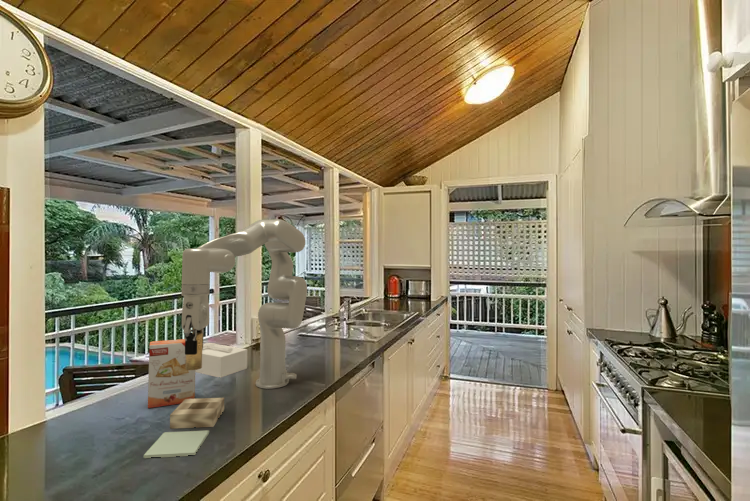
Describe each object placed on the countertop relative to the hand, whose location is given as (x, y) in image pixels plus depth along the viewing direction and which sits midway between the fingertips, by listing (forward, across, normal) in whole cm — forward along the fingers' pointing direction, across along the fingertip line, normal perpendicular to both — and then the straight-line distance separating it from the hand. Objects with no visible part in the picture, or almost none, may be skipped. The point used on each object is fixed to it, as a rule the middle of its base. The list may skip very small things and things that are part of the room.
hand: (194, 351), depth 112 cm
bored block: (+22, +5, 0) cm, 22 cm away
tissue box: (+22, +57, +11) cm, 62 cm away
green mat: (+22, -11, 0) cm, 25 cm away
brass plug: (+5, 0, 0) cm, 5 cm away
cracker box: (+22, +19, +13) cm, 32 cm away
